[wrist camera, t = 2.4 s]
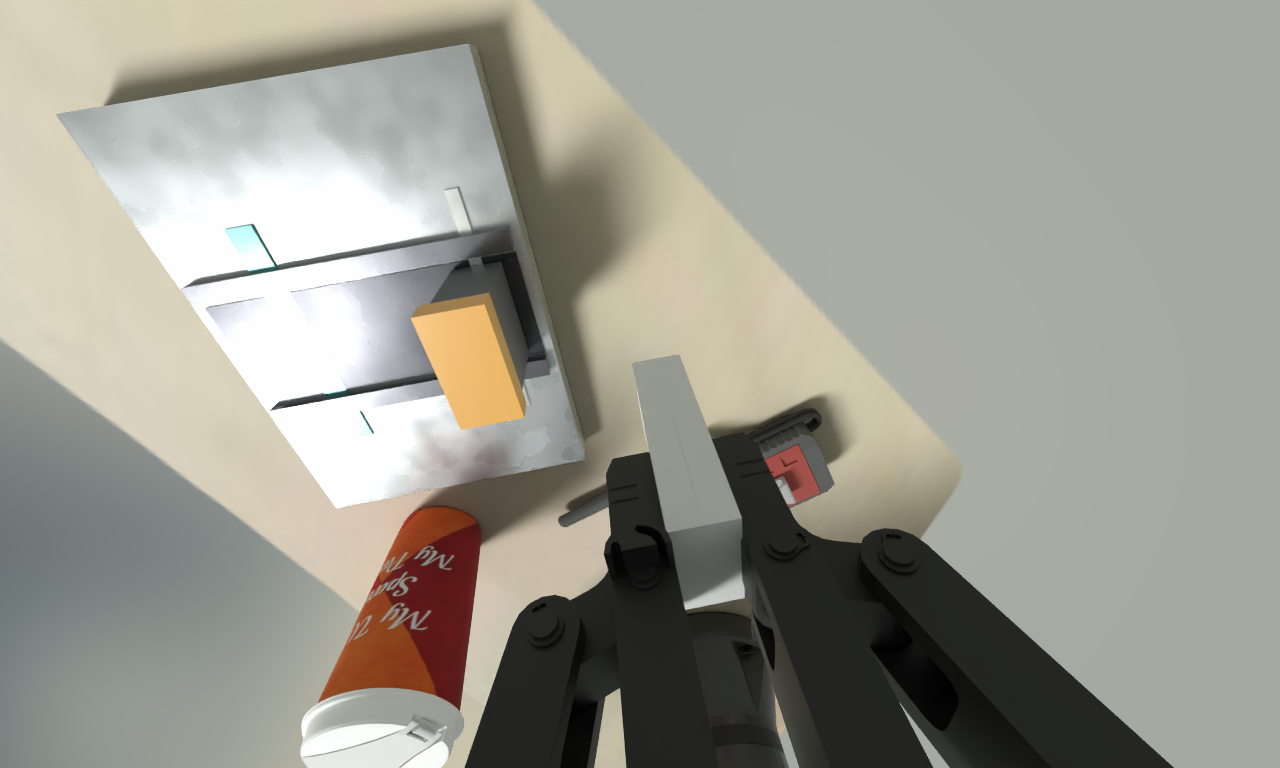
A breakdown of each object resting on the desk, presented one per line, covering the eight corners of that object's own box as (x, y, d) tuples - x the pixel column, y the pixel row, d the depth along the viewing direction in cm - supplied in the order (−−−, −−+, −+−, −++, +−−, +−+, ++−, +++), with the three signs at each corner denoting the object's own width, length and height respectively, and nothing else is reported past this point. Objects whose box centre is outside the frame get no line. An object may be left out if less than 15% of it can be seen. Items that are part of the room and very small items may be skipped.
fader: (533, 353, 26) (524, 417, 21) (482, 362, 26) (460, 430, 21) (503, 256, 23) (484, 304, 18) (446, 266, 23) (410, 318, 18)
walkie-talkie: (800, 376, 32) (551, 500, 35) (830, 414, 28) (549, 549, 32) (834, 458, 37) (610, 561, 40) (863, 500, 33) (615, 610, 36)
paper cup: (443, 478, 32) (370, 701, 21) (517, 536, 36) (491, 752, 25) (360, 529, 34) (248, 764, 22) (439, 580, 38) (380, 803, 26)
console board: (584, 440, 32) (585, 466, 30) (349, 485, 32) (332, 515, 30) (477, 47, 20) (465, 42, 18) (99, 112, 20) (40, 115, 18)
